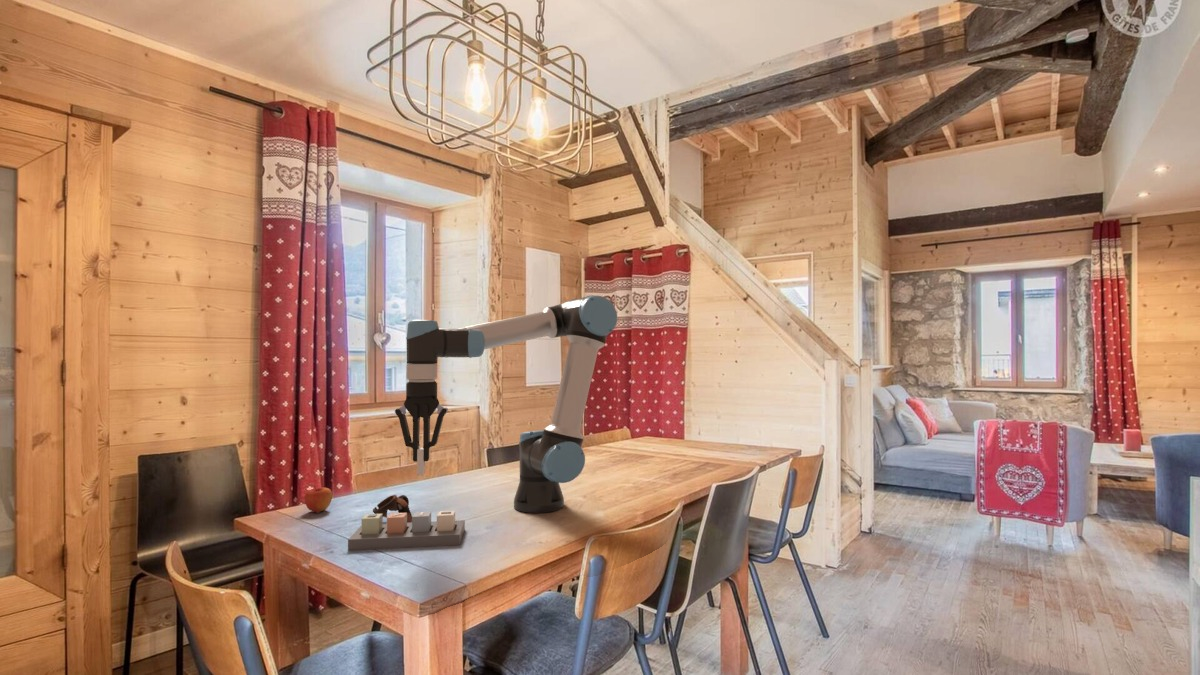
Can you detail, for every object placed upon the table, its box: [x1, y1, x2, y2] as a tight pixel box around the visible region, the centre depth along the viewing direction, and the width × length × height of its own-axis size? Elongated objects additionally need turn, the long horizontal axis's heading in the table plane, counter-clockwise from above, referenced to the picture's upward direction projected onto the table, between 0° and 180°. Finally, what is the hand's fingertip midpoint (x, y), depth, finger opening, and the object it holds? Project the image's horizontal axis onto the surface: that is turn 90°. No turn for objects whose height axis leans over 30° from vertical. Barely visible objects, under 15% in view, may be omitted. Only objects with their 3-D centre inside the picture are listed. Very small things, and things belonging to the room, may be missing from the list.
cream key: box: [436, 510, 456, 531], centre depth 146 cm, size 4×4×4 cm
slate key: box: [411, 511, 432, 532], centre depth 145 cm, size 4×4×4 cm
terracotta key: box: [386, 512, 407, 533], centre depth 144 cm, size 4×4×4 cm
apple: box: [304, 485, 333, 514], centre depth 170 cm, size 7×7×8 cm
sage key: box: [361, 513, 384, 535], centre depth 143 cm, size 4×4×4 cm
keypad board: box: [347, 519, 466, 551], centre depth 144 cm, size 26×12×2 cm, turn 97°
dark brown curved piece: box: [372, 494, 413, 523], centre depth 161 cm, size 12×10×8 cm
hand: (421, 474), depth 145 cm, fingers closed
